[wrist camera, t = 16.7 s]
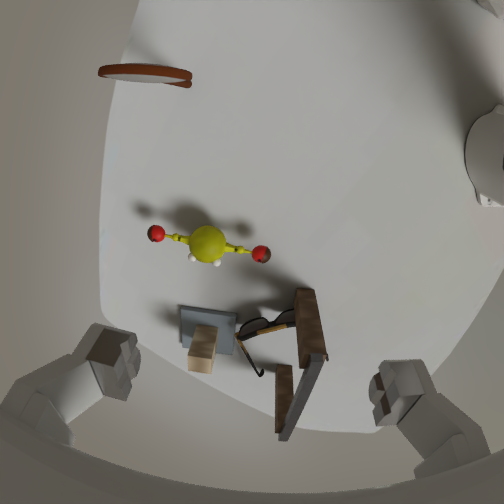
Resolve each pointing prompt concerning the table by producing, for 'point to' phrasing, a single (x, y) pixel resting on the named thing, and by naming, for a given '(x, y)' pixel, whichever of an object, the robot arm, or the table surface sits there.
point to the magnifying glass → (147, 74)
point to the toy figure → (208, 244)
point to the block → (203, 349)
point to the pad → (209, 318)
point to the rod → (301, 394)
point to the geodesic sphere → (494, 7)
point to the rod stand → (299, 350)
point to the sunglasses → (264, 330)
